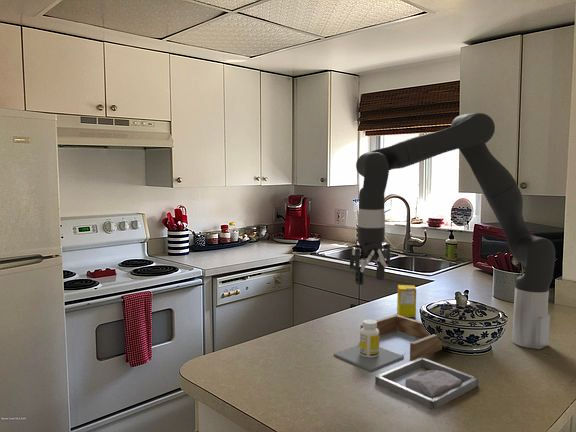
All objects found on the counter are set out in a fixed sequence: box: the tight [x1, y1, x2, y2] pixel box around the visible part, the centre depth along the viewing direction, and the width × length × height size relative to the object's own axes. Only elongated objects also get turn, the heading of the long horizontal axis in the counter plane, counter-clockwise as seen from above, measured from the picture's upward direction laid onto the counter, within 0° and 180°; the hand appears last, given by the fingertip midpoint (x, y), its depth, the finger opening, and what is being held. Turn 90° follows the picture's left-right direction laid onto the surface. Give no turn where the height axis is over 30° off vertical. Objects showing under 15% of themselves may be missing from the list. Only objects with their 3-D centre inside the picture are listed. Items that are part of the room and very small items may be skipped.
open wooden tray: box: [359, 313, 443, 362], centre depth 151 cm, size 20×17×5 cm
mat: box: [333, 344, 405, 373], centre depth 142 cm, size 14×14×1 cm
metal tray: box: [374, 357, 479, 411], centre depth 124 cm, size 17×19×2 cm
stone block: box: [404, 369, 463, 399], centre depth 122 cm, size 12×5×10 cm
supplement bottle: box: [359, 318, 380, 358], centre depth 141 cm, size 5×5×10 cm
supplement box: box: [396, 284, 417, 320], centre depth 177 cm, size 6×6×11 cm
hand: (370, 282), depth 139 cm, fingers open, 8 cm apart
